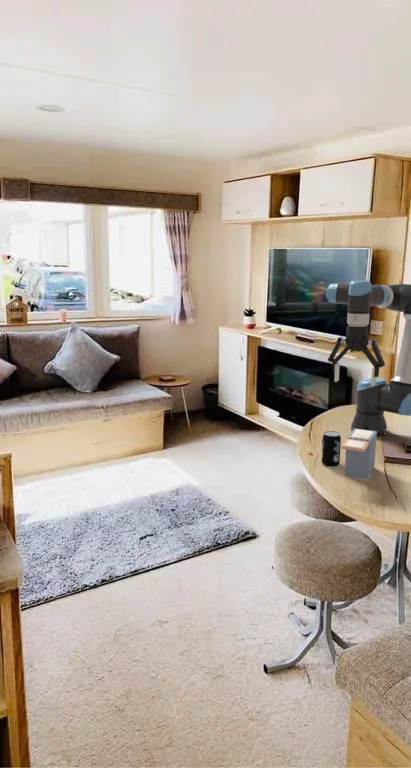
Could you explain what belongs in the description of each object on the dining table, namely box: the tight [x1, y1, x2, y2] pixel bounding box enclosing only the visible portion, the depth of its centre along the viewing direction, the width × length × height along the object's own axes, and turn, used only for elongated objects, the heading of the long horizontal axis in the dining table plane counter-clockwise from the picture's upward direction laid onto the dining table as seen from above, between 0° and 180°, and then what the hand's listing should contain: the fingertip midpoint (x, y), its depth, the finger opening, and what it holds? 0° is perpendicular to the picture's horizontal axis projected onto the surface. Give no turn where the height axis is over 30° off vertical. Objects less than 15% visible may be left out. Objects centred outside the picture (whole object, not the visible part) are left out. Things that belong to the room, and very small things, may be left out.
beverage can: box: [321, 430, 342, 468], centre depth 206 cm, size 7×7×12 cm
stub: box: [340, 438, 369, 452], centre depth 187 cm, size 8×8×1 cm
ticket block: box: [344, 428, 377, 481], centre depth 198 cm, size 12×8×14 cm, turn 153°
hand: (354, 383), depth 203 cm, fingers open, 13 cm apart
